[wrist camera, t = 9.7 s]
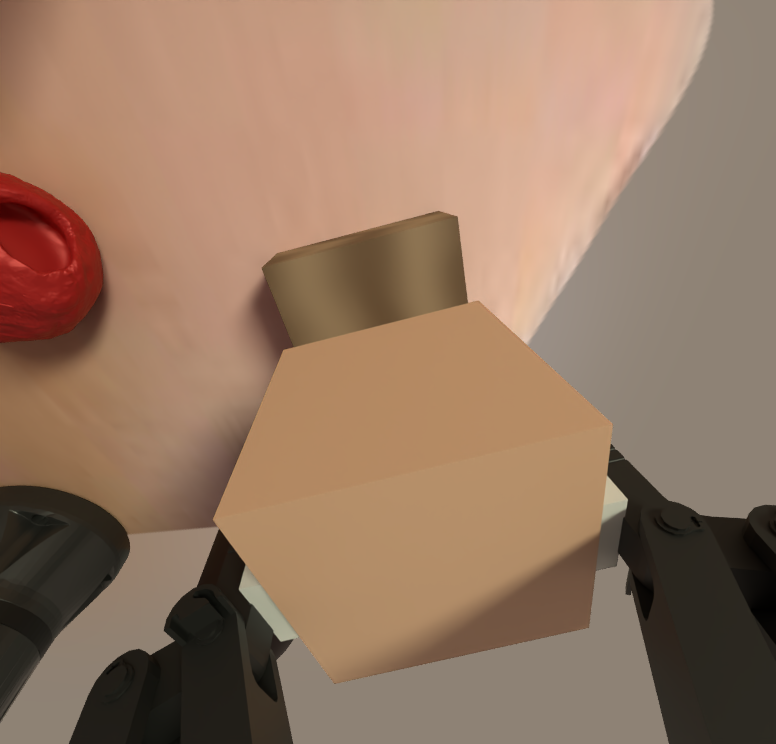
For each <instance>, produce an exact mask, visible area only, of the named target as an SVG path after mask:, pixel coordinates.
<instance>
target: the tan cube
mask: <svg viewBox="0 0 776 744" xmlns="http://www.w3.org/2000/svg"><path fill="white" fill-rule="evenodd" d="M612 427H613V424H612V423H611V422H610V421H609V420H608V419H607V418H605V417H604V416H603V415H602V414H601V413H600V412H599V411H598V410H597V409H596V408H595V407H594V406H592V405H591V404H590V403H589V402H588V401H587V400H586V399H585V398H584V397H583V396H582V395H581V394H579V393H578V392H577V391H576V390H575V389H574V388H573V387H572V386H571V385H570V384H569V383H567V382H566V381H565V380H564V379H563V378H562V377H561V376H560V375H559V374H558V373H557V372H555V371H554V370H553V369H552V368H551V367H550V366H549V365H548V364H547V363H546V362H545V361H543V359H541V358H540V357H539V356H538V355H537V354H536V353H535V352H534V351H533V350H532V349H530V348H529V347H528V346H527V345H526V344H525V343H524V342H523V341H522V340H521V339H520V338H519V337H517V336H516V335H515V334H514V333H513V332H512V331H511V330H510V329H509V328H508V327H507V326H506V325H504V324H503V323H502V322H501V321H500V320H499V319H498V318H497V317H496V316H495V315H494V314H492V313H491V312H490V311H489V310H488V309H487V308H486V307H485V306H484V305H483V304H482V303H481V302H479V301H475V302H471V303H467V304H463V305H459V306H455V307H451V308H447V309H443V310H439V311H435V312H431V313H427V314H423V315H419V316H416V317H412V318H408V319H404V320H400V321H396V322H392V323H388V324H384V325H380V326H376V327H372V328H368V329H364V330H360V331H356V332H352V333H348V334H345V335H341V336H337V337H333V338H329V339H325V340H321V341H317V342H313V343H309V344H305V345H301V346H297V347H293V348H289V349H285V350H283V352H282V355H281V357H280V360H279V362H278V364H277V367H276V369H275V372H274V374H273V376H272V379H271V381H270V384H269V386H268V388H267V391H266V393H265V396H264V398H263V400H262V403H261V405H260V408H259V410H258V412H257V415H256V417H255V420H254V422H253V424H252V427H251V429H250V432H249V434H248V436H247V439H246V441H245V444H244V446H243V448H242V451H241V453H240V456H239V458H238V460H237V463H236V465H235V468H234V470H233V472H232V475H231V477H230V480H229V482H228V484H227V487H226V489H225V492H224V494H223V496H222V499H221V501H220V504H219V506H218V508H217V511H216V513H215V516H214V518H213V521H214V522H215V524H216V525H217V526H218V528H219V529H220V530H221V532H222V533H223V534H224V536H225V537H226V538H227V540H228V541H229V542H230V544H231V545H232V546H233V548H234V549H235V551H236V552H237V553H238V555H239V556H240V557H241V559H242V560H243V561H244V563H245V564H246V565H247V567H248V568H249V569H250V571H251V572H252V573H253V575H254V576H255V577H256V579H257V580H258V582H259V583H260V584H261V586H262V587H263V588H264V590H265V591H266V592H267V594H268V595H269V596H270V598H271V599H272V600H273V602H274V603H275V604H276V606H277V607H278V608H279V610H280V611H281V613H282V614H283V615H284V617H285V618H286V619H287V621H288V622H289V623H290V625H291V626H292V627H293V629H294V630H295V631H296V633H297V634H298V635H299V637H300V638H301V639H302V640H303V642H304V643H305V645H306V646H307V648H308V649H309V650H310V652H311V653H312V654H313V656H314V657H315V658H316V660H317V661H318V662H319V664H320V665H321V666H322V668H323V669H324V670H325V672H326V673H327V675H328V676H329V677H330V678H331V680H332V681H333V683H334V684H336V683H341V682H345V681H350V680H355V679H359V678H363V677H368V676H372V675H377V674H381V673H386V672H391V671H395V670H400V669H404V668H409V667H413V666H418V665H422V664H427V663H432V662H436V661H440V660H445V659H450V658H454V657H459V656H463V655H467V654H472V653H477V652H481V651H486V650H490V649H495V648H499V647H504V646H508V645H513V644H517V643H522V642H527V641H531V640H535V639H540V638H545V637H549V636H554V635H558V634H562V633H567V632H571V631H576V630H580V629H585V628H589V623H590V614H591V605H592V597H593V589H594V580H595V572H596V564H597V555H598V547H599V538H600V530H601V521H602V513H603V504H604V496H605V487H606V479H607V470H608V462H609V453H610V445H611V436H612Z"/></svg>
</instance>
